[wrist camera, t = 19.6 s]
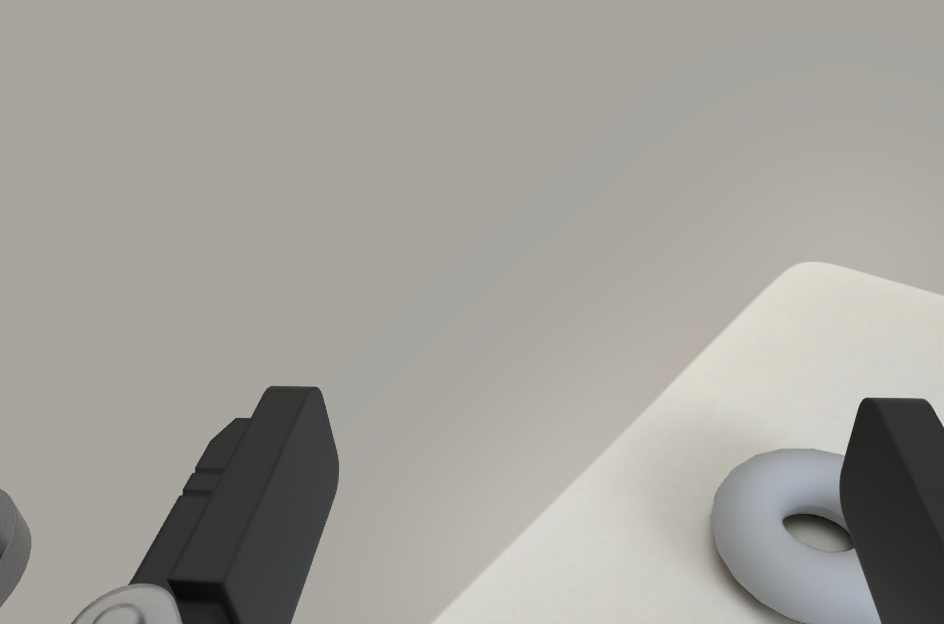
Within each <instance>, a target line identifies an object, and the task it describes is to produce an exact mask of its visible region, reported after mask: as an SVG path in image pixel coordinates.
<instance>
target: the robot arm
mask: <svg viewBox="0 0 944 624" xmlns="http://www.w3.org/2000/svg"><path fill="white" fill-rule="evenodd" d="M338 478H339V461H338V454H337V450H336V446H335V442H334V439H333V434H332V431H331V426H330V422H329V419H328V415H327V411H326V407H325V403H324V399H323V395H322V393H321V391H320V390H319V388H317V387H301V386H299V387H298V386H271V387H269V388H267V390H266V391H265V392H264V394H263V396H262V398H261V400H260V401H259V403H258V405H257V407H256V409H255V411H254V413H253V415H252V417H251V418H235V419H234V420H233V421H232V422H231V423H230V424H229V425H228V426H227V427H225V428H224V429H223V430H222V431H221V432H220V433H219V434H218V435H216V436H215V437H214V438H213V439H212V440H211V441H210V443H209V444H208V446H207V448H206V450H205V452H204V453H203V455H202V457H201V458H200V460H199V462H198V464H197V466H196V468H195V473H192V475H191V476H190V478H189V480H188V481H187V483H186V485H185V487H184V488H183V495H182V496H179V497H178V499H177V501H176V503H175V504H174V506H173V508H172V510H171V512H170V513H169V515H168V517H167V519H166V520H165V522H164V524H163V526H162V527H161V529H160V531H159V533H158V534H157V536H156V538H155V540H154V541H153V543H152V545H151V547H150V549H149V550H148V552H147V554H146V556H145V558H144V559H143V561H142V563H141V564H140V566H139V568H138V570H137V572H136V573H135V575H134V577H133V578H132V580H131V581H130V583H129V584H128V586H123V587H120V588H117V589H115V590H112V591H110V592H108V593H106V594H105V595H103V596H101V597H99V598H98V599H96V600H95V601H94V602H92V603H91V604H90V605H88V606H87V607H86V608H85V609H84V610H83V611H82V612H81V613H80V614H79V615H78V616H77V617H76V618H75V620H74V621H73V622H72V623H71V624H291V621H292V618H293V616H294V613H295V610H296V607H297V604H298V601H299V598H300V595H301V593H302V590H303V587H304V584H305V581H306V578H307V575H308V572H309V570H310V567H311V564H312V561H313V558H314V555H315V552H316V549H317V546H318V544H319V541H320V538H321V535H322V532H323V529H324V526H325V524H326V521H327V518H328V515H329V512H330V509H331V506H332V503H333V500H334V498H335V494H336V491H337V485H338ZM839 494H840V504H841V509H842V513H843V517H844V520H845V522H846V525H847V528H848V531H849V534H850V537H851V539H852V542H853V545H854V548H855V551H856V553H857V556H858V559H859V562H860V565H861V567H862V570H863V573H864V576H865V579H866V582H867V584H868V587H869V590H870V593H871V596H872V598H873V601H874V604H875V607H876V610H877V613H878V615H879V618H880V621H881V624H944V427H943V426H942V424H941V422H940V420H939V418H938V417H937V415H936V413H935V411H934V409H933V408H932V406H931V405H930V403H929V402H928V401H926V400H925V399H915V398H865V399H863V400H862V402H861V403H860V405H859V408H858V412H857V415H856V419H855V422H854V426H853V429H852V433H851V437H850V440H849V444H848V447H847V451H846V455H845V458H844V462H843V465H842V469H841V473H840V481H839Z"/></svg>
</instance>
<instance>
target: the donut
mask: <svg viewBox="0 0 944 624" xmlns="http://www.w3.org/2000/svg"><path fill="white" fill-rule="evenodd" d="M844 458H845V456H843V455H840V454H835V453H831V452H826V451H821V450H816V449H779V450H775V451H771V452H767V453H763V454H759V455H756V456H754V457H752V458H750V459H749V460H747V461H745V462H744V463H742V464H740V465H739V466H737V467H736V468H734V469H733V470H732V471H731V472H730V473H729V475H728V476H727V477H726V479H725V480H724V481H723V483H722V484H721V485H720V487H719V488H718V490H717V492H716V495H715V499H714V504H713V509H712V514H711V525H712V530H713V534H714V539H715V543H716V548H717V551H718V552H719V554H720V556H721V557H722V559H723V560H724V562H725V564H726V565H727V567H728V568H729V570H730V572H731V573H732V575H733V576H734V578H735V579H736V580H737V581H738V582H739V583H740V584H741V585H742V586H743V587H744V588H745V589H746V590H748V591H749V592H750V593H751V594H752V595H753V596H754V597H755V598H756V599H757V600H759V601H760V602H761V603H763V604H764V605H766V606H768V607H770V608H772V609H773V610H775V611H777V612H779V613H781V614H782V615H784V616H786V617H788V618H790V619H792V620H794V621H798V622H801V623H805V624H881V621H880V618H879V615H878V613H877V610H876V607H875V604H874V601H873V598H872V596H871V593H870V590H869V587H868V584H867V582H866V579H865V576H864V573H863V570H862V567H861V565H860V562H859V559H858V556H857V553H856V551H855V548H853V549H851V550H848V551H844V552H827V551H823V550H819V549H815V548H812V547H810V546H808V545H806V544H804V543H802V542H800V541H798V540H797V539H796V538H795V537H793V536H792V535H791V534H790V533H788V531H787V530H786V529H785V527H784V525H783V522H782V521H783V519H784V518H785V517H787V516H790V515H794V514H813V515H818V516H822V517H825V518H827V519H829V520H831V521H834V522H836V523H837V524H839V525H840V526H841V527H843V528H844V529H845V530H847V531H848V528H847V525H846V522H845V520H844V517H843V513H842V509H841V504H840V494H839V481H840V473H841V469H842V465H843V462H844ZM848 533H849V531H848Z"/></svg>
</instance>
